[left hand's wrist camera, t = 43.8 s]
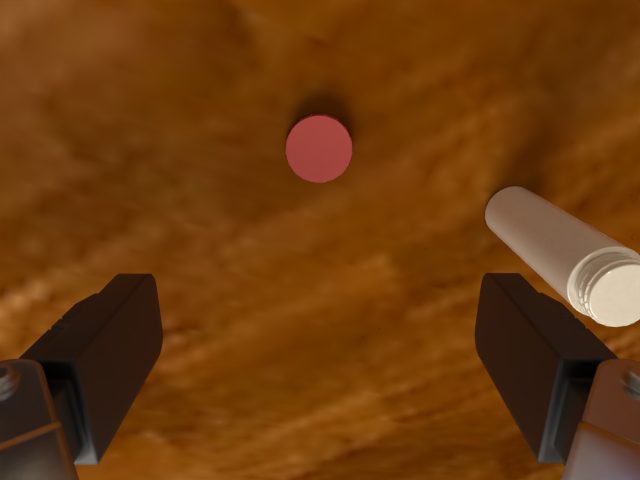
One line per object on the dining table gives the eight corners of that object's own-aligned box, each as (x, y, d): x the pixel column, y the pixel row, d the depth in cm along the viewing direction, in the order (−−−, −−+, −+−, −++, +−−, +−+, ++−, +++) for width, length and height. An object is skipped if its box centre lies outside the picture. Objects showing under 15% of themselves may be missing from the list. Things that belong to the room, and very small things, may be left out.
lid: (361, 164, 36) (363, 168, 34) (301, 187, 37) (300, 193, 35) (337, 102, 34) (338, 103, 33) (275, 128, 35) (273, 131, 33)
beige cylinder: (478, 198, 37) (574, 276, 23) (530, 177, 36) (660, 245, 22) (493, 243, 38) (591, 343, 24) (543, 224, 38) (674, 315, 24)
